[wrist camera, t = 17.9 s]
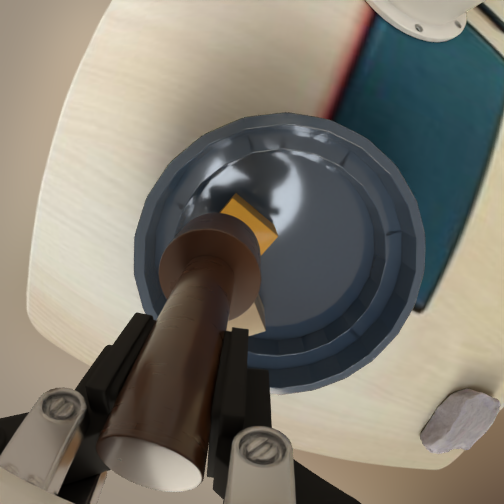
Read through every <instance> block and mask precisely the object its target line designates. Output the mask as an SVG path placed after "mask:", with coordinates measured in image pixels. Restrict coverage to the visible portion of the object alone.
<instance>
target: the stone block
mask: <svg viewBox="0 0 504 504" xmlns="http://www.w3.org/2000/svg"><path fill="white" fill-rule="evenodd" d="M499 407H500V401H499V400H498V399H495V398H493V397H491V396H488V395H487V394H485V393H482V392H476V391H473V390H471V389H469V388H468V389H464V390H461V391H458V392H455V393H453V394H451V395H450V396H449V397H448V398H447V399H446V400H445V401H444V402H443V403H442V404H441V405H440V406H438V407H437V409H436V411H435V413H434V414H433V416H432V418H431V419H430V421H429V422H428V423H427V425H426V426H425V428H424V430H423V431H422V432H421V434H420V439H421V440H422V444H423V445H424V446H425V447H426V449H427V450H429V452H431V453H437V454H439V453H445V452H449V451H450V450H452V449H460V448H461V449H464V450H468V449H470V448H471V446H472V445H473V444H474V443H475V442H476V441H477V440H478V439H479V438H480V437H481V436H482V435H483V434H484V433H486V431H487V430H488V429H489V428H490V426H491V425H492V424H493V422H494V420H495V418H496V416H497V414H498V412H499Z"/></svg>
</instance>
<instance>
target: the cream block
mask: <svg viewBox="0 0 504 504" xmlns="http://www.w3.org/2000/svg"><path fill="white" fill-rule="evenodd" d="M232 327H235V328H243V329H249V336H251V335H254V334H258V333H261V332H264V331H266V327H265V313H264V306H263V304H262V301H261V299H260V296H259V293H258V296H257V298H256V300H255V302H254V303H253V304H252V306H251V307H250V308H249V309H248V310H247V311H246V312H245V313H243V314H242V315H241V316H239V317H237V318H235V319H233V320H230V321H228V324H227V330H226V331H232Z"/></svg>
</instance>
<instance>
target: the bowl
mask: <svg viewBox="0 0 504 504" xmlns="http://www.w3.org/2000/svg"><path fill="white" fill-rule="evenodd" d="M235 193H237V194H238V195H239V196H240V197H242V198H243V199H244V200H245V201H246V202H248V203H249V204H250V205H251V206H252V207H254V208H255V209H256V210H257V211H258V212H259V213H261V214H262V215H263V216H264V217H265V218H267V219H268V220H269V221H270V222H271V223H272V224H274V226H275V229H276V232H277V234H278V237H277V238H276V240H275V241H274V242H273V243H272V244H271V245H270V246H269V247H268V248H267V250H266V251H265V252H264V253H263V254H262V255H261V285H260V290H259V296H260V299H261V301H262V304H263V306H264V313H265V327H266V331H264V332H261V333H258V334H254V335H251V336H248V358H247V368H253V369H263V370H268V371H269V383H270V394H272V395H284V394H292V393H299V392H306V391H312V390H316V389H319V388H321V387H324V386H327V385H329V384H332V383H335V382H337V381H340V380H342V379H345V378H347V377H349V376H350V375H352V374H353V373H355V372H356V371H358V370H359V369H361V368H362V367H364V366H365V365H367V364H368V363H370V362H371V361H373V360H374V359H375V358H376V357H377V356H378V355H379V354H380V353H381V352H382V351H383V350H384V348H385V347H386V346H387V345H388V344H389V343H390V342H391V341H392V340H393V339H394V338H395V337H396V336H397V335H398V333H399V332H400V330H401V328H402V326H403V325H404V323H405V321H406V320H407V318H408V316H409V314H410V313H411V311H412V309H413V307H414V304H415V302H416V299H417V295H418V292H419V288H420V285H421V281H422V278H423V274H424V269H425V232H424V228H423V224H422V220H421V216H420V212H419V208H418V204H417V201H416V200H415V197H414V195H413V193H412V192H411V190H410V188H409V186H408V185H407V183H406V181H405V179H404V178H403V176H402V174H401V173H400V171H399V169H398V168H397V167H396V165H395V164H394V163H393V162H392V161H391V160H390V159H389V158H388V157H387V156H386V155H385V154H384V153H383V152H382V151H381V150H379V149H378V148H377V147H376V146H375V145H374V144H373V143H372V142H371V141H370V140H369V139H367V138H366V137H364V136H362V135H360V134H358V133H356V132H354V131H352V130H350V129H348V128H346V127H344V126H342V125H340V124H338V123H336V122H334V121H332V120H329V119H324V118H319V117H313V116H308V115H302V114H296V113H289V112H288V113H287V112H285V113H275V114H266V115H258V116H250V117H244V118H241V119H239V120H236V121H234V122H231V123H229V124H227V125H224V126H222V127H220V128H217V129H215V130H213V131H211V132H208V133H206V134H204V136H203V135H202V136H201V137H200V138H198V139H197V140H196V141H195V142H194V143H192V144H191V145H190V146H189V147H187V148H186V149H185V150H184V151H183V152H182V153H180V154H179V155H178V156H177V157H176V158H174V159H173V160H172V161H171V162H170V163H169V164H168V166H167V167H166V169H165V170H164V172H163V173H162V175H161V176H160V178H159V179H158V181H157V182H156V184H155V185H154V187H153V188H152V190H151V191H150V193H149V194H148V196H147V198H146V201H145V204H144V207H143V210H142V213H141V216H140V220H139V223H138V226H137V229H136V233H135V238H134V276H135V280H136V284H137V288H138V292H139V295H140V299H141V303H142V306H143V309H144V312H145V313H146V314H147V315H152V316H153V319H154V320H157V318H158V316H159V315H160V313H161V311H162V309H163V307H164V305H165V303H166V301H167V298H166V297H165V295H164V293H163V291H162V288H161V285H160V281H159V264H160V260H161V257H162V255H163V253H164V251H165V249H166V248H167V247H168V245H169V244H170V243H171V242H172V240H173V239H174V238H175V237H176V236H177V234H178V233H179V232H180V231H181V230H182V228H183V227H184V226H185V225H186V224H187V223H188V222H190V221H191V220H192V219H194V218H196V217H198V216H200V215H203V214H207V213H219V212H220V211H221V210H222V208H223V207H224V206H225V205H226V204H227V202H228V201H229V200H230V199H231V198H232V197H233V195H234V194H235Z"/></svg>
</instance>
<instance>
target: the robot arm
mask: <svg viewBox="0 0 504 504" xmlns="http://www.w3.org/2000/svg"><path fill="white" fill-rule="evenodd" d="M484 1H486V0H366V2H367V3H368V4H369V5H370V6H371V7H372V8H373V9H374V11H375V12H377V13H378V14H379V15H380V16H381V17H382V18H383V19H384V20H386V21H387V22H388V23H390V24H391V25H393V26H394V27H395V28H397V29H399V30H401V31H402V32H404V33H406V34H408V35H410V36H413V37H415V38H417V39H421V40H425V41H429V42H444V41H448V40H450V39H453V38H454V37H456V36H457V35H459V34H460V33H461V32H462V31H463V30H464V27H465V25H466V20H467V11H469V10H470V9H472V8H474V7H475V6H477V5H479V4H481V3H482V2H484ZM155 322H156V320H154V319H153V316H152V315H147V314H141V313H135V315H134V316H133V317H132V319H131V320H130V321H129V323H128V324H127V326H126V327H125V328H124V330H123V331H122V333H121V334H120V335H119V337H118V338H117V340H116V341H115V342H114V344H113V345H107V346H106V347H105V348H104V349H103V351H102V352H101V353H100V355H99V356H98V358H97V359H96V360H95V362H94V363H93V365H92V366H91V367H90V369H89V370H88V372H87V373H86V374H85V376H84V377H83V379H82V380H81V382H80V383H79V385H78V386H77V387H76V389H75V390H73V389H70V388H55V389H51V390H49V391H47V392H45V393H44V394H43V395H42V396H41V397H40V398H39V399H38V400H37V402H36V403H35V405H34V406H33V407H32V409H31V410H30V412H28V413H23V414H19V415H14V416H10V417H5V418H0V504H97V503H98V500H99V497H100V494H101V491H102V488H103V485H104V482H105V479H106V476H107V471H108V470H111V469H110V468H109V467H108V466H107V465H106V464H105V463H104V462H103V461H102V460H101V459H100V457H99V455H98V453H97V450H96V442H97V440H98V438H99V436H100V434H101V431H102V429H103V427H104V425H105V423H106V421H107V419H108V416H109V414H110V412H111V410H112V408H113V406H114V404H115V402H116V400H117V397H118V395H119V393H120V391H121V389H122V387H123V385H124V383H125V381H126V379H127V377H128V375H129V373H130V371H131V369H132V367H133V365H134V363H135V361H136V359H137V357H138V355H139V353H140V351H141V349H142V347H143V345H144V343H145V341H146V339H147V337H148V336H149V334H150V332H151V330H152V328H153V326H154V324H155ZM248 336H249V329H243V328H235V327H232V331H225V334H224V340H223V346H222V352H221V357H220V363H219V369H218V375H217V381H216V386H215V392H214V398H213V404H212V411H211V432H210V438H209V451H208V468H207V477H213V478H214V481H213V490H214V491H215V492H216V493H217V494H218V495H219V496H220V497H221V498H222V499H224V501H223V504H361V503H360V502H359V501H357V500H356V499H354V498H353V497H351V496H349V495H347V494H346V493H344V492H343V491H341V490H339V489H338V488H336V487H335V486H333V485H331V484H330V483H328V482H327V481H325V480H324V479H322V478H320V477H319V476H317V475H316V474H314V473H313V472H311V471H310V470H308V469H307V468H305V467H304V466H302V465H301V464H300V463H298V462H297V461H295V460H294V459H293V448H292V445H291V442H290V441H289V439H288V438H287V436H285V435H284V434H283V433H281V432H280V431H278V430H276V429H273V428H272V424H271V403H270V383H269V371H268V370H263V369H253V368H247V358H248Z"/></svg>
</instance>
